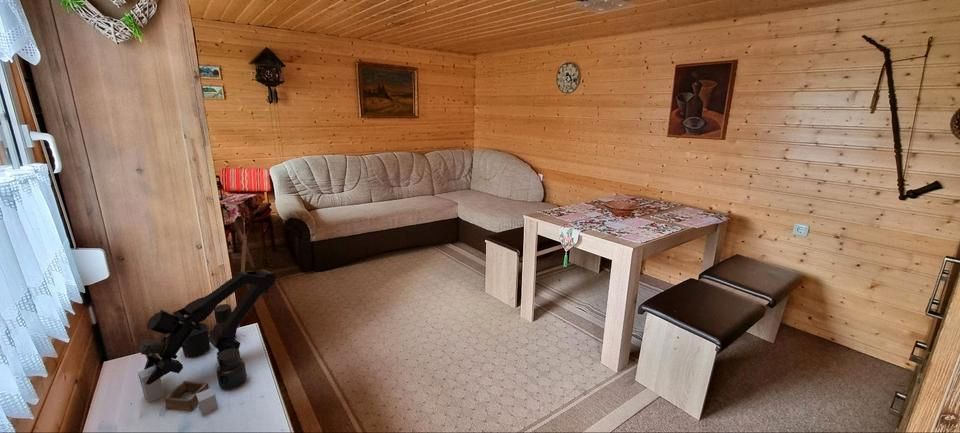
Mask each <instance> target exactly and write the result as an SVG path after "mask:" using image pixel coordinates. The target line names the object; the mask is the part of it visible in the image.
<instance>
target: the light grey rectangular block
mask: <svg viewBox="0 0 960 433" xmlns="http://www.w3.org/2000/svg"><path fill="white" fill-rule="evenodd" d="M154 369H155V367H154V366H152V367H150V368H147V369H145V370H144V369H143V370H141V371H138V372H137V375H138V379H139V383H140V387H141V391H142V394H143V397H144V398H145V400H146V401H147V403H148V404H150V403H153V402H154V401H156V400H158V399H161V398H162V397H165V396H166V395H165V390H164V386H163V383H162V377H161V378H159V379H158V380H156V381H154V382H153V383H151V384H150V385H147V384H146V382H147V381H148V379H149V377H150V375H151V374H152V372H153V370H154Z"/></svg>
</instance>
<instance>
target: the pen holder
mask: <svg viewBox="0 0 960 433" xmlns="http://www.w3.org/2000/svg"><path fill="white" fill-rule="evenodd" d="M200 327H201V331H199V330H196V329H194V330H193V332H192V333H191V334H190V336H189V337H188V338H187V340H186V341H185V343H184V344H185V345H186V346H185V347H184V348H182V347H181V349H182V352H183V355H184V356H185V357H186V358H197V357H200V356H203V355H205V354H206V353H208V351H209V350H210V348H211V343H210V342H209V338H208V337H209V335H210V334H209V329H208V325H207V324H206V323H204V322H200Z"/></svg>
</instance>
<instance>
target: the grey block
mask: <svg viewBox="0 0 960 433" xmlns="http://www.w3.org/2000/svg"><path fill="white" fill-rule="evenodd" d="M196 397H197V402H198V405H197V407H198V408H199V412H200V414H201V415H202V416H203V415H206V414H208V413H211V412H212V411H214V409H215V410H216V408H217V409H218V408H219V406H218V402H217V397H216V393H215V391H214V389H213V387H209V389H207V390H204V391H202V392H200V393H197V394H196Z"/></svg>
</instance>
